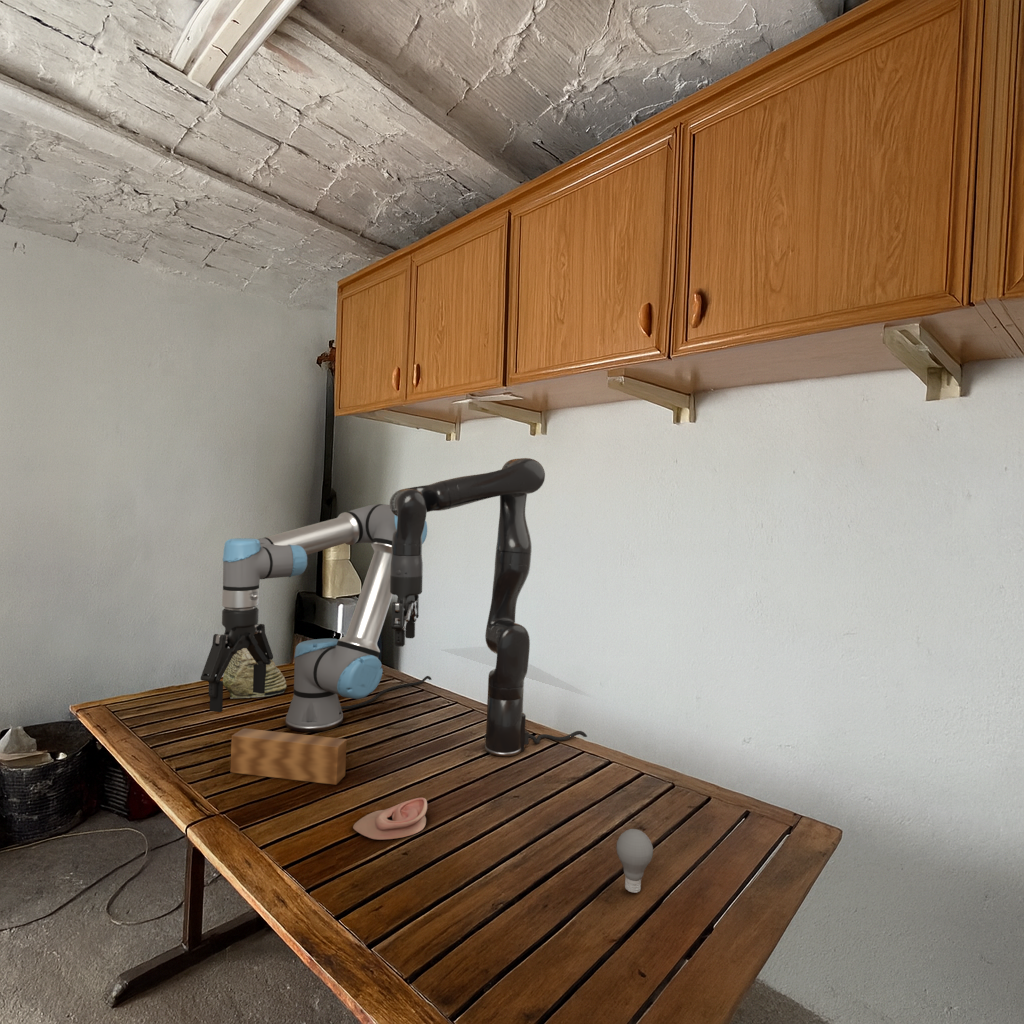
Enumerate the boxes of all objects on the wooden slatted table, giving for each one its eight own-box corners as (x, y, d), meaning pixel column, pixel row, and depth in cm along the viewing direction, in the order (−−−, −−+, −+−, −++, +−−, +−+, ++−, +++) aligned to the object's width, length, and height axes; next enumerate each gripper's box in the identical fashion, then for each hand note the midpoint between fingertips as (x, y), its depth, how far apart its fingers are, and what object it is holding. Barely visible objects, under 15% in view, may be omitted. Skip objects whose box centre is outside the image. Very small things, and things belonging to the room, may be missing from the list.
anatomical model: (346, 814, 119) (372, 787, 130) (345, 835, 119) (371, 806, 130) (413, 824, 116) (433, 796, 127) (412, 846, 116) (432, 816, 127)
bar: (230, 772, 143) (231, 735, 143) (242, 763, 148) (243, 728, 148) (336, 785, 140) (337, 747, 139) (345, 775, 144) (346, 738, 144)
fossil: (218, 695, 195) (220, 647, 195) (278, 685, 208) (279, 640, 207) (228, 703, 189) (230, 653, 188) (289, 692, 201) (290, 645, 201)
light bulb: (610, 879, 108) (613, 822, 108) (644, 879, 109) (647, 822, 109) (619, 902, 102) (622, 840, 102) (655, 901, 103) (658, 840, 103)
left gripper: (212, 619, 129) (210, 722, 129) (289, 600, 153) (287, 687, 153) (183, 615, 131) (181, 717, 132) (263, 597, 155) (261, 683, 156)
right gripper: (413, 578, 142) (412, 650, 142) (429, 570, 156) (428, 636, 156) (381, 576, 143) (379, 648, 143) (399, 569, 157) (398, 634, 157)
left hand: (238, 701), depth 143 cm, fingers open, 13 cm apart
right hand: (405, 641), depth 150 cm, fingers open, 8 cm apart
